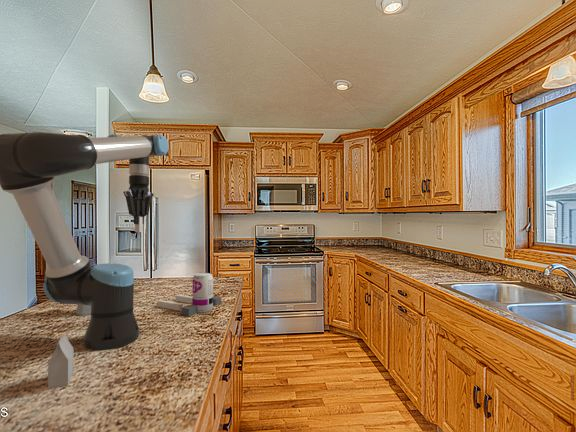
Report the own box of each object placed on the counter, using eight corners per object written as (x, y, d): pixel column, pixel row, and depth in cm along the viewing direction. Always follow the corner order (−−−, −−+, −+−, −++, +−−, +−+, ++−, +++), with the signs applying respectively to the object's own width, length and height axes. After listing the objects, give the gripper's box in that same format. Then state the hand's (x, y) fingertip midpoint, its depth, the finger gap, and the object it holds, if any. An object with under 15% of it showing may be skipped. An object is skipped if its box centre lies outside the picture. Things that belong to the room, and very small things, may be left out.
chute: (188, 316, 120) (189, 308, 120) (149, 309, 129) (149, 301, 129) (221, 303, 138) (221, 297, 138) (184, 297, 147) (184, 291, 147)
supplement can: (199, 314, 122) (199, 277, 122) (188, 310, 128) (188, 274, 128) (216, 310, 128) (216, 274, 128) (205, 306, 134) (206, 271, 134)
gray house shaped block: (73, 372, 77) (73, 332, 77) (67, 385, 70) (68, 342, 71) (55, 375, 75) (55, 334, 75) (47, 389, 69) (48, 345, 69)
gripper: (146, 177, 136) (145, 231, 136) (118, 174, 124) (118, 232, 124) (158, 177, 133) (157, 231, 132) (131, 173, 121) (130, 233, 121)
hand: (138, 232), depth 128 cm, fingers closed
